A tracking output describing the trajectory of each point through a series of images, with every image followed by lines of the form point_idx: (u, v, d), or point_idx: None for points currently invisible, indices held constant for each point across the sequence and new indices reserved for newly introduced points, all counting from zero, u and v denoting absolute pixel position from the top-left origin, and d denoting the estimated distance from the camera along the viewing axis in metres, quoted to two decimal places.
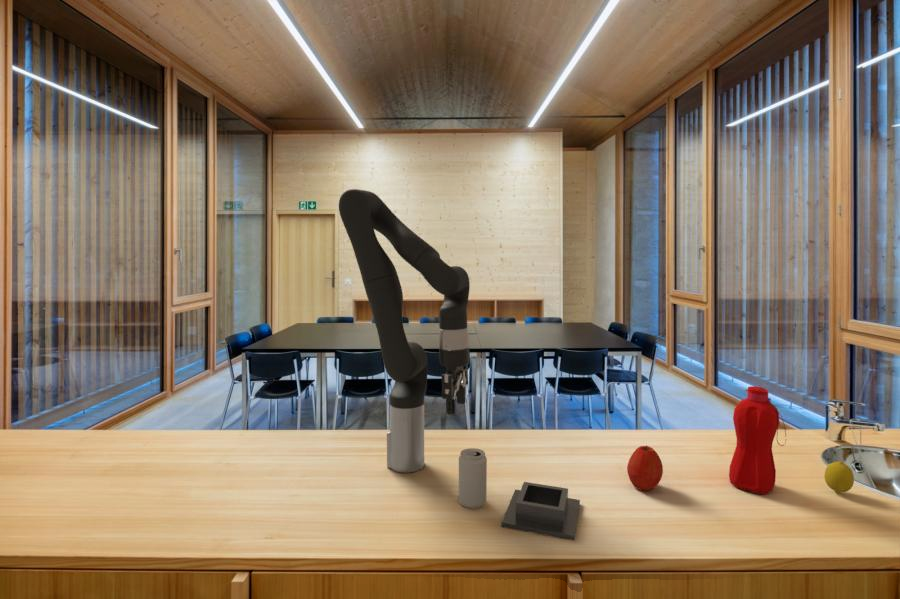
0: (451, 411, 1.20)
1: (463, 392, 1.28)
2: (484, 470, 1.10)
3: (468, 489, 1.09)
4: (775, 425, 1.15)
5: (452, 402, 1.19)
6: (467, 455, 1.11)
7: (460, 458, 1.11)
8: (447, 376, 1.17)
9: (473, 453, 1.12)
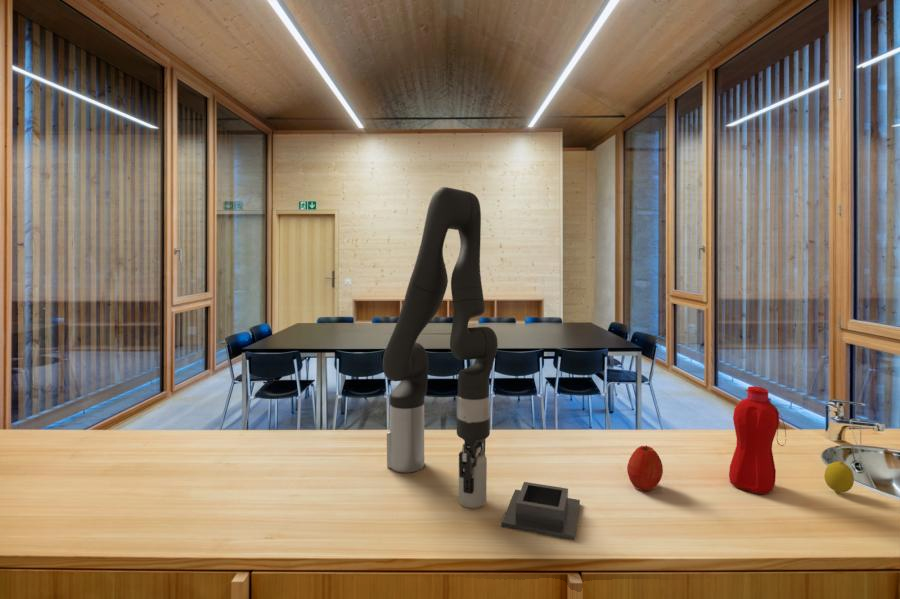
0: (469, 490, 1.08)
1: None
2: (484, 470, 1.10)
3: None
4: (775, 425, 1.15)
5: (470, 481, 1.08)
6: None
7: None
8: (465, 455, 1.05)
9: None
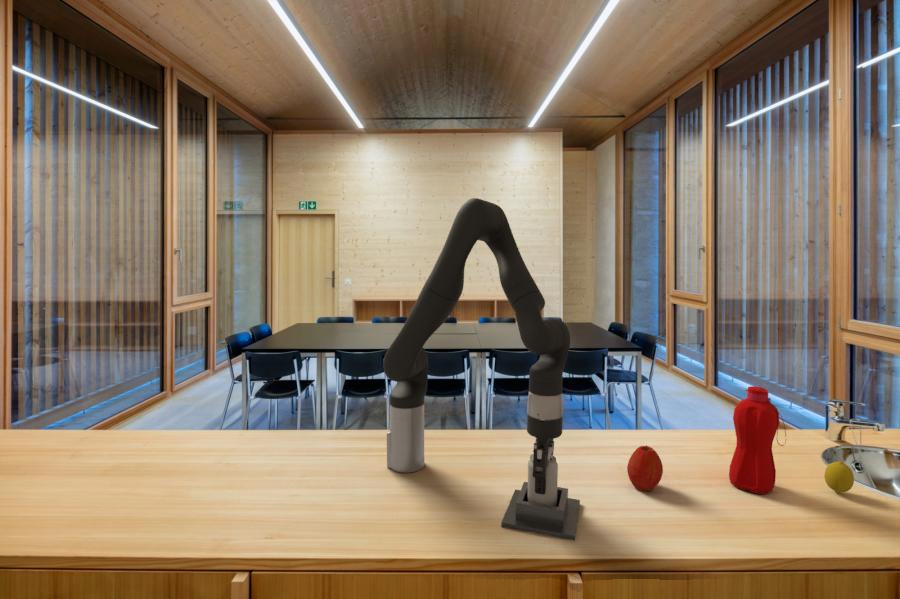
0: (541, 491, 1.02)
1: None
2: (556, 476, 1.05)
3: (539, 496, 1.05)
4: (775, 425, 1.15)
5: (543, 481, 1.02)
6: None
7: (530, 463, 1.06)
8: (540, 452, 1.00)
9: None
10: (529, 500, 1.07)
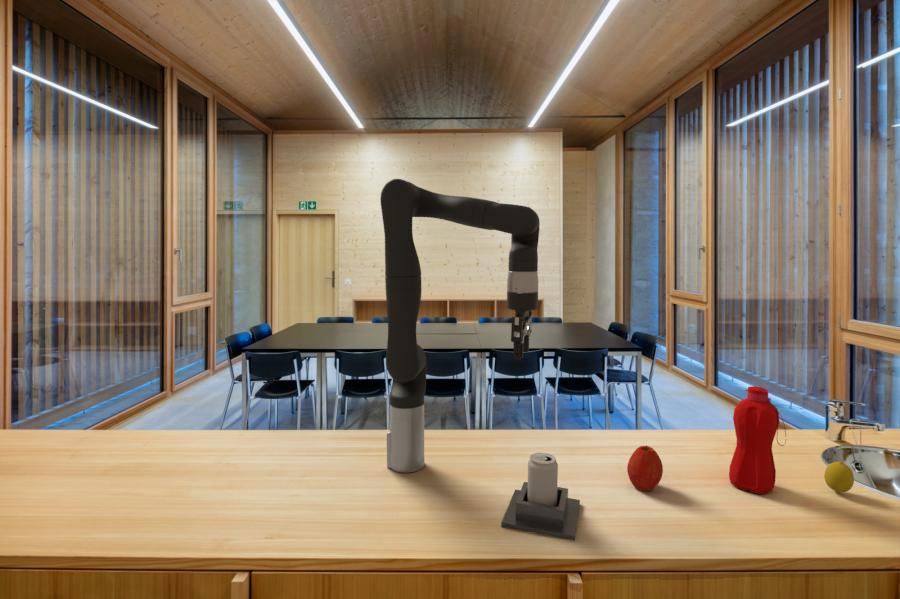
0: (519, 355, 1.16)
1: (527, 340, 1.24)
2: (556, 476, 1.05)
3: (539, 496, 1.05)
4: (775, 425, 1.15)
5: (520, 346, 1.16)
6: (538, 460, 1.06)
7: (530, 463, 1.06)
8: (518, 318, 1.14)
9: (543, 458, 1.07)
10: (529, 500, 1.07)
